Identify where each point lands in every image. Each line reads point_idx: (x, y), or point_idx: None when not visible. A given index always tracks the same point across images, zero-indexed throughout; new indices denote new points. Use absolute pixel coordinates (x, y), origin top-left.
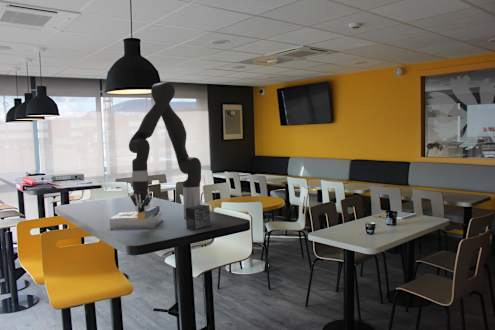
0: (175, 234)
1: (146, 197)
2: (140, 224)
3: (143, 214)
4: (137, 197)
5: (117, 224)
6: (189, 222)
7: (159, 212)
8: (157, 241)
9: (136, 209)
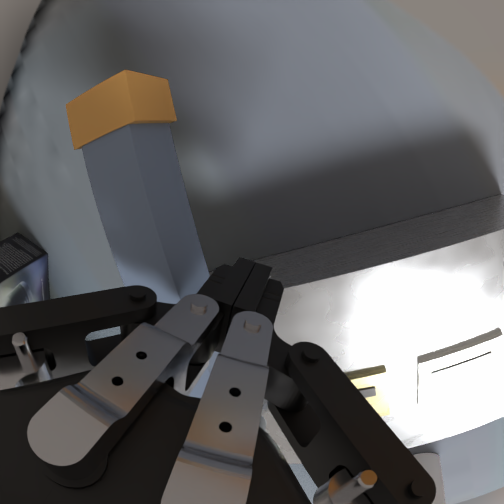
0: (28, 141)
1: (14, 369)
2: (295, 258)
3: (77, 101)
4: (186, 442)
5: (472, 214)
6: (12, 257)
7: None
8: (42, 16)
9: (436, 478)
